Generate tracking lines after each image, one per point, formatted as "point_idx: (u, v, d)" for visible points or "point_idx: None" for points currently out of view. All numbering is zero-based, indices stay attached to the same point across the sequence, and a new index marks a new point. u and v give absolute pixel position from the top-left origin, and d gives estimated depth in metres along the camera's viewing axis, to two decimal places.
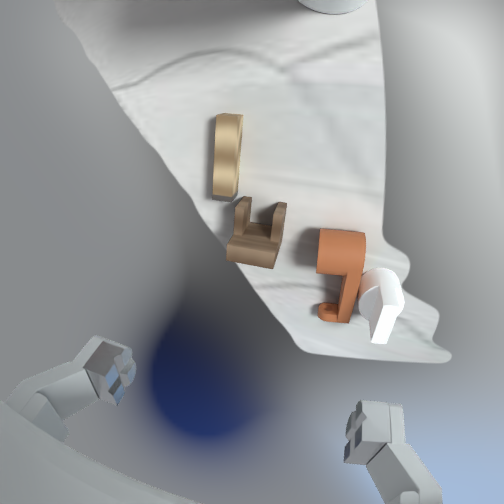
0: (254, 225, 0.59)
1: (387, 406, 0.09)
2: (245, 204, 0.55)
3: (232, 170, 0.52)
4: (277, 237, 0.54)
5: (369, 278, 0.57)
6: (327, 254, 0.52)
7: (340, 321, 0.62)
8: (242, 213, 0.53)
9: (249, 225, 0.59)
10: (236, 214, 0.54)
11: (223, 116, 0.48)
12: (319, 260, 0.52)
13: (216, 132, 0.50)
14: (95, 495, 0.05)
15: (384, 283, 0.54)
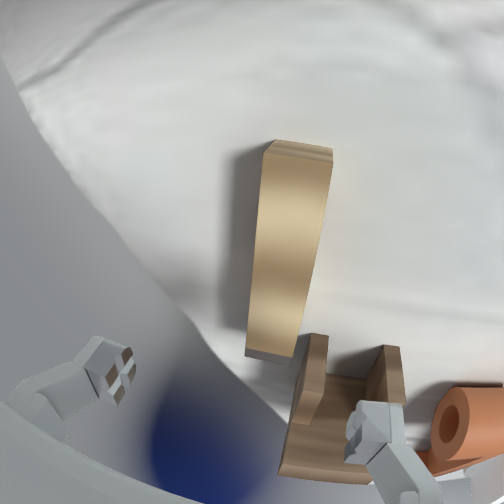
0: (327, 383, 0.27)
1: (387, 406, 0.09)
2: (322, 371, 0.22)
3: (301, 308, 0.20)
4: None
5: None
6: (472, 446, 0.19)
7: None
8: (318, 399, 0.21)
9: None
10: (303, 399, 0.21)
11: (286, 159, 0.15)
12: (456, 455, 0.20)
13: (261, 208, 0.17)
14: (95, 495, 0.05)
15: None
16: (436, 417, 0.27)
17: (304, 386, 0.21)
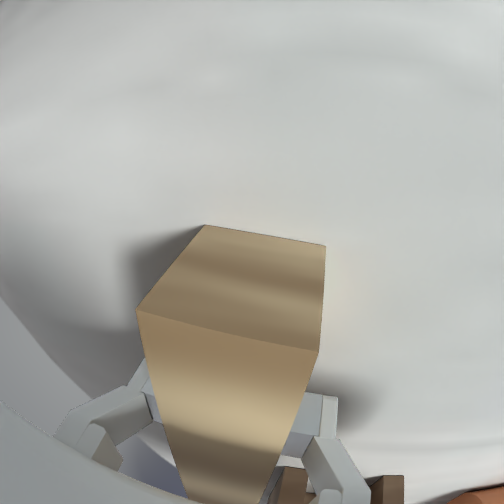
0: None
1: (320, 398, 0.09)
2: None
3: (258, 494, 0.10)
4: None
5: None
6: None
7: None
8: None
9: None
10: None
11: (193, 331, 0.06)
12: None
13: (160, 399, 0.07)
14: (95, 495, 0.05)
15: None
16: None
17: None
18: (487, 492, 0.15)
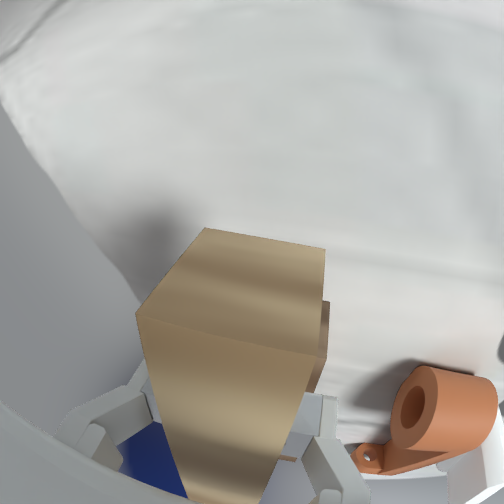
0: None
1: (320, 398, 0.09)
2: None
3: (258, 494, 0.10)
4: None
5: None
6: (439, 434, 0.19)
7: (382, 474, 0.31)
8: None
9: None
10: None
11: (192, 335, 0.06)
12: (420, 442, 0.20)
13: (161, 401, 0.07)
14: (95, 495, 0.05)
15: None
16: (398, 400, 0.26)
17: None
18: None
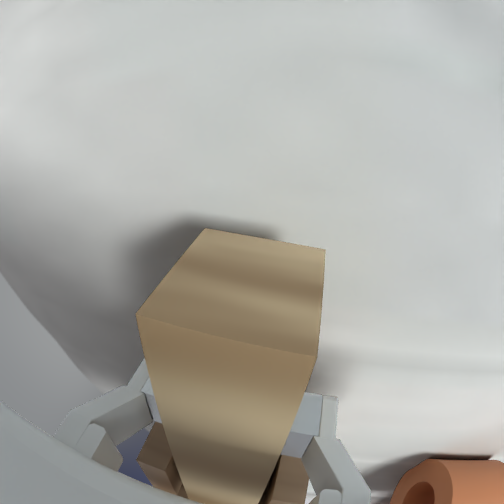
0: None
1: (320, 398, 0.09)
2: None
3: (257, 494, 0.10)
4: None
5: None
6: None
7: None
8: (164, 474, 0.12)
9: None
10: (146, 470, 0.12)
11: (192, 336, 0.06)
12: None
13: (161, 401, 0.07)
14: (95, 495, 0.05)
15: None
16: (400, 489, 0.18)
17: (140, 454, 0.12)
18: (453, 461, 0.16)
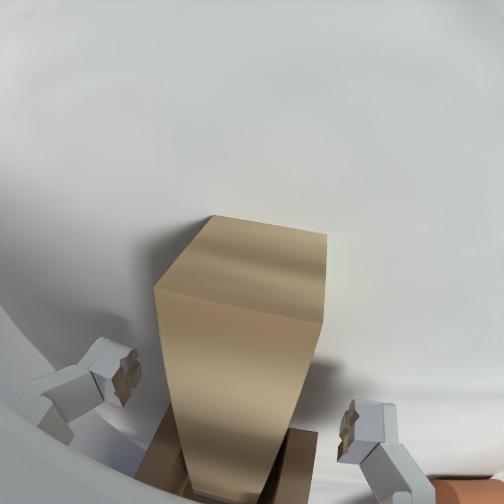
0: None
1: (381, 405, 0.09)
2: (168, 465, 0.12)
3: (262, 479, 0.11)
4: None
5: None
6: None
7: None
8: None
9: None
10: None
11: (207, 306, 0.06)
12: None
13: (172, 378, 0.08)
14: (95, 495, 0.05)
15: None
16: None
17: None
18: (459, 482, 0.15)
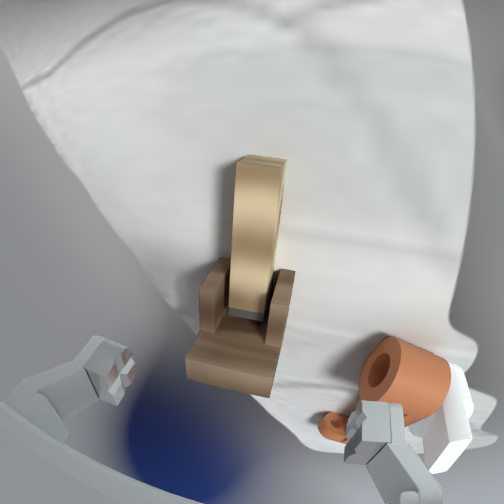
0: None
1: (387, 406, 0.09)
2: (219, 279, 0.30)
3: (267, 271, 0.28)
4: (278, 340, 0.29)
5: None
6: (401, 391, 0.27)
7: (346, 442, 0.39)
8: (212, 299, 0.28)
9: None
10: (202, 300, 0.29)
11: (251, 166, 0.24)
12: (385, 396, 0.27)
13: (236, 199, 0.26)
14: (95, 495, 0.05)
15: (448, 396, 0.29)
16: (366, 367, 0.34)
17: (201, 287, 0.28)
18: None
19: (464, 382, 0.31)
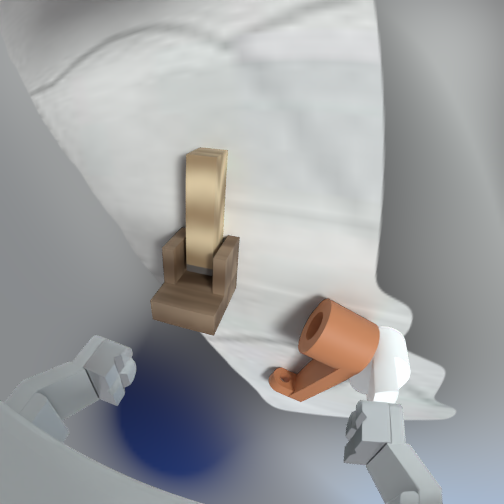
0: None
1: (387, 406, 0.09)
2: (178, 241, 0.39)
3: (212, 234, 0.37)
4: (221, 289, 0.38)
5: None
6: (329, 343, 0.37)
7: (292, 397, 0.49)
8: (172, 256, 0.37)
9: None
10: (164, 257, 0.38)
11: (196, 156, 0.33)
12: (315, 346, 0.37)
13: (187, 180, 0.34)
14: (95, 495, 0.05)
15: (379, 353, 0.38)
16: (306, 324, 0.44)
17: (163, 246, 0.37)
18: None
19: (400, 344, 0.40)
